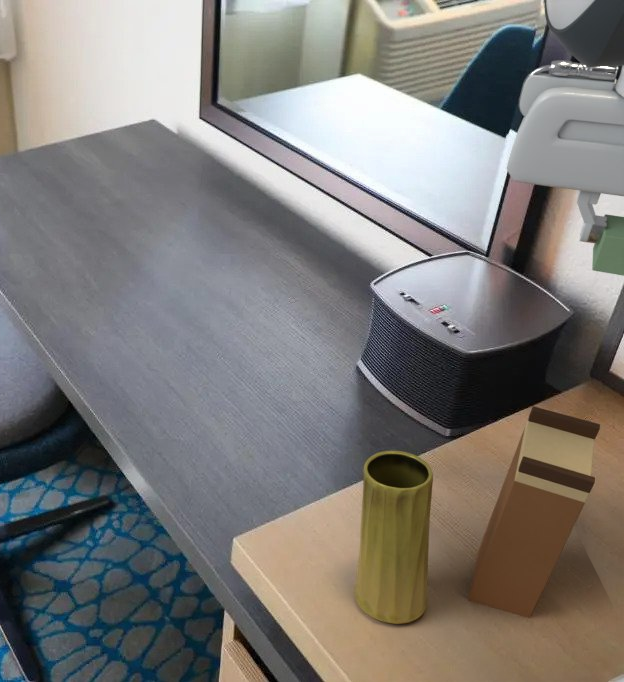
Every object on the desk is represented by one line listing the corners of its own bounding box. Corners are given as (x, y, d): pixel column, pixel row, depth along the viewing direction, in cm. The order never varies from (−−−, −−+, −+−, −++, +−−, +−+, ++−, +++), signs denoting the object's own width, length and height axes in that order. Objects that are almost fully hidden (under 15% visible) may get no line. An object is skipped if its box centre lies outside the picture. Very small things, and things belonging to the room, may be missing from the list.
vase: (433, 627, 66) (445, 494, 59) (357, 623, 67) (361, 493, 61) (420, 574, 71) (431, 446, 65) (350, 571, 73) (354, 446, 66)
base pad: (525, 627, 67) (595, 482, 56) (465, 605, 69) (522, 460, 58) (534, 569, 72) (600, 423, 61) (478, 549, 74) (532, 405, 63)
